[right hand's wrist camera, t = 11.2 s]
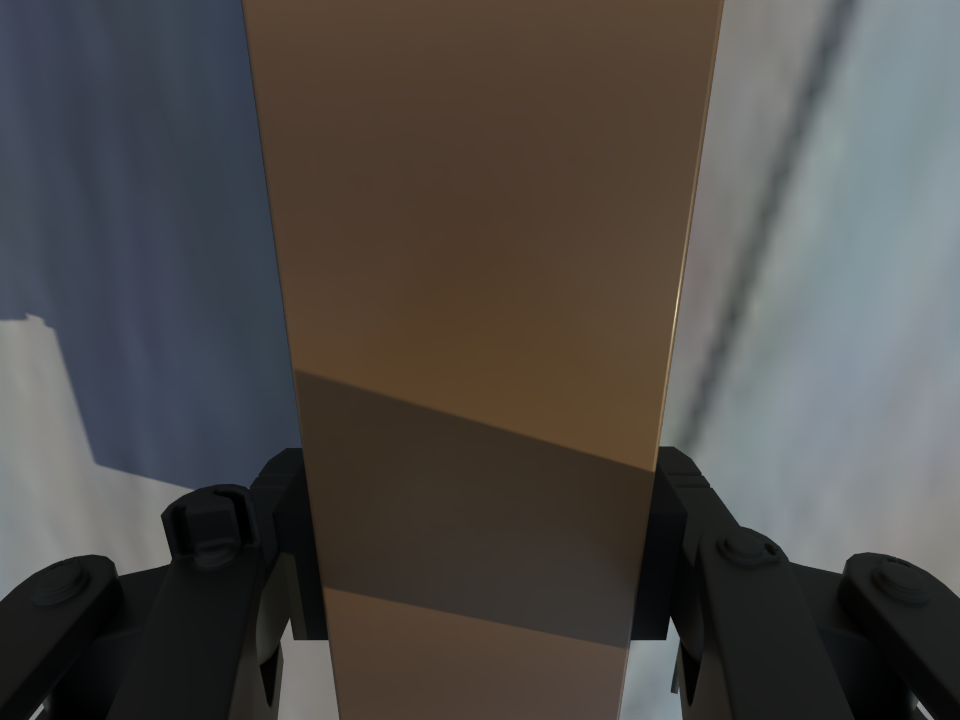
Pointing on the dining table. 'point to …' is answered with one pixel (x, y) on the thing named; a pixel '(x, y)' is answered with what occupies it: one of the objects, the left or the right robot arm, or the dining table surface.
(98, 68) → the dining table surface
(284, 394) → the dining table surface
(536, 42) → the bar
